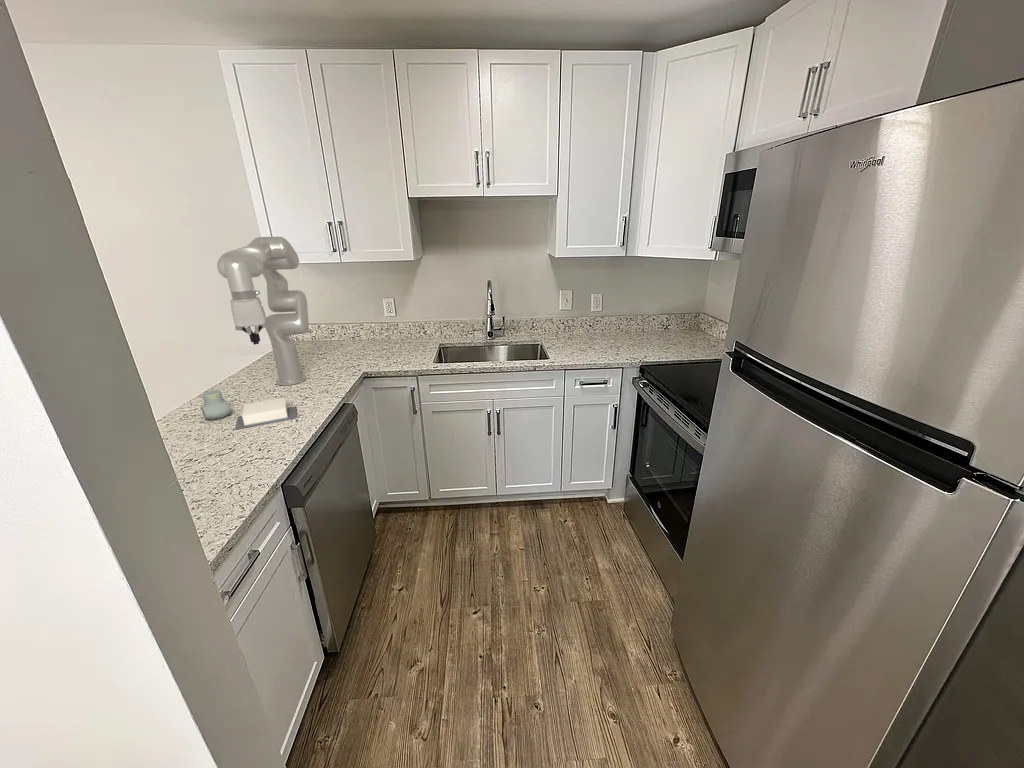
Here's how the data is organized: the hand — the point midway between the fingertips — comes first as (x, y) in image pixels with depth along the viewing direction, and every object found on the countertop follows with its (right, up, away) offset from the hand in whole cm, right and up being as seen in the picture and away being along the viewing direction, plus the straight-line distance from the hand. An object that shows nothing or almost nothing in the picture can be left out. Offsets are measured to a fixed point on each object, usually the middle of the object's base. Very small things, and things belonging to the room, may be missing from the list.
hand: (256, 343), depth 160 cm
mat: (+4, -28, 0) cm, 29 cm away
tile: (+1, -24, +5) cm, 24 cm away
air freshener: (-16, -28, +3) cm, 33 cm away
